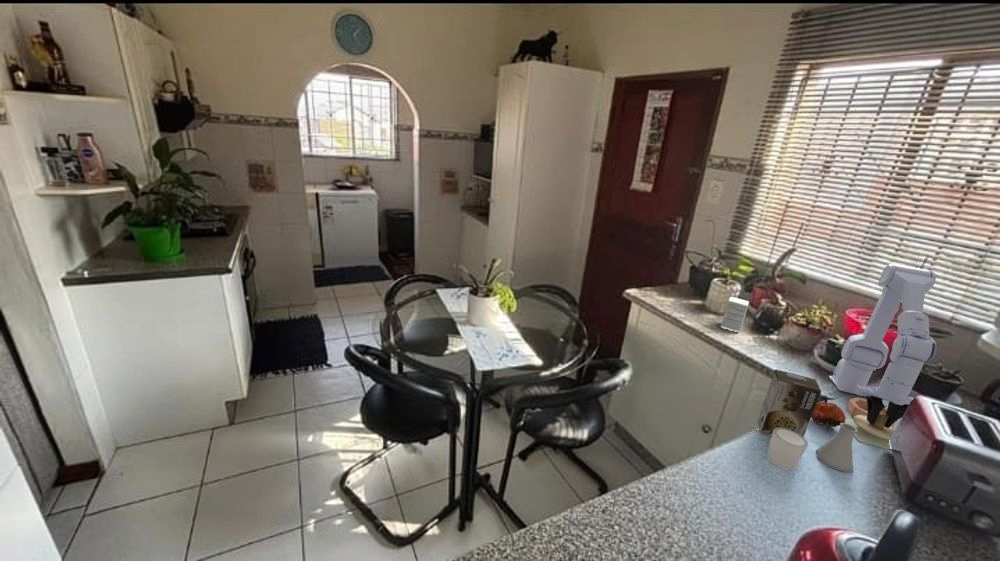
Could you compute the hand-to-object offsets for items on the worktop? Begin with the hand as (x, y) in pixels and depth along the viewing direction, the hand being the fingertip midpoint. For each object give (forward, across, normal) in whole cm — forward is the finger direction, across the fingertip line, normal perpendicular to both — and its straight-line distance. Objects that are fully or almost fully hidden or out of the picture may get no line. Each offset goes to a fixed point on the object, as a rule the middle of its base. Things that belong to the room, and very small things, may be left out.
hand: (877, 423), depth 110 cm
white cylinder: (+4, -28, -24) cm, 37 cm away
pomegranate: (+4, -12, -2) cm, 13 cm away
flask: (+4, -15, -18) cm, 24 cm away
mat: (+4, 0, 0) cm, 4 cm away
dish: (+4, +4, +10) cm, 12 cm away
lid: (+1, 0, 0) cm, 1 cm away
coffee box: (+4, -26, -12) cm, 28 cm away
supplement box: (+4, -25, +62) cm, 67 cm away
